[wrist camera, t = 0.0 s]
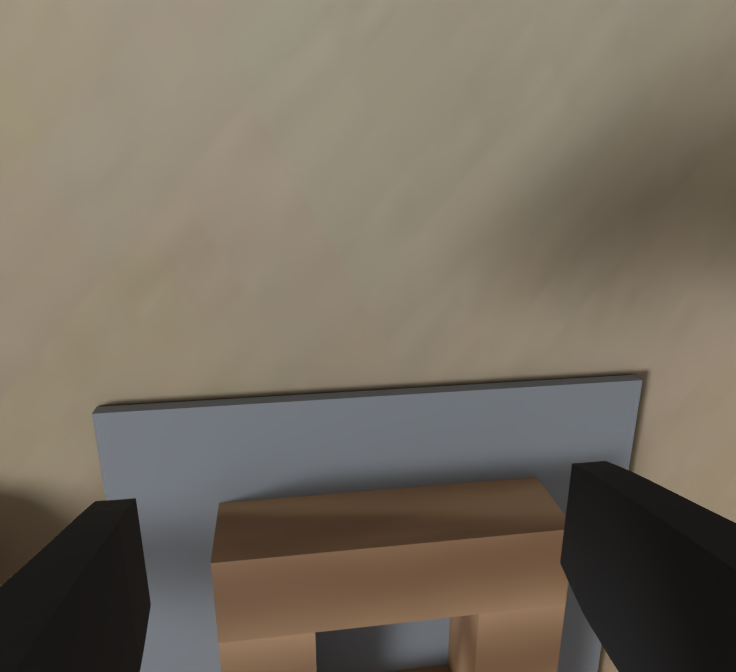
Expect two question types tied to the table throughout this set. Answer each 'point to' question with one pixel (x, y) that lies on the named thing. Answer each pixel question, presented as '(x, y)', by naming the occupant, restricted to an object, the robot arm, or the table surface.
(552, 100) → the table surface
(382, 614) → the square frame
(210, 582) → the mat
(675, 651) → the robot arm
